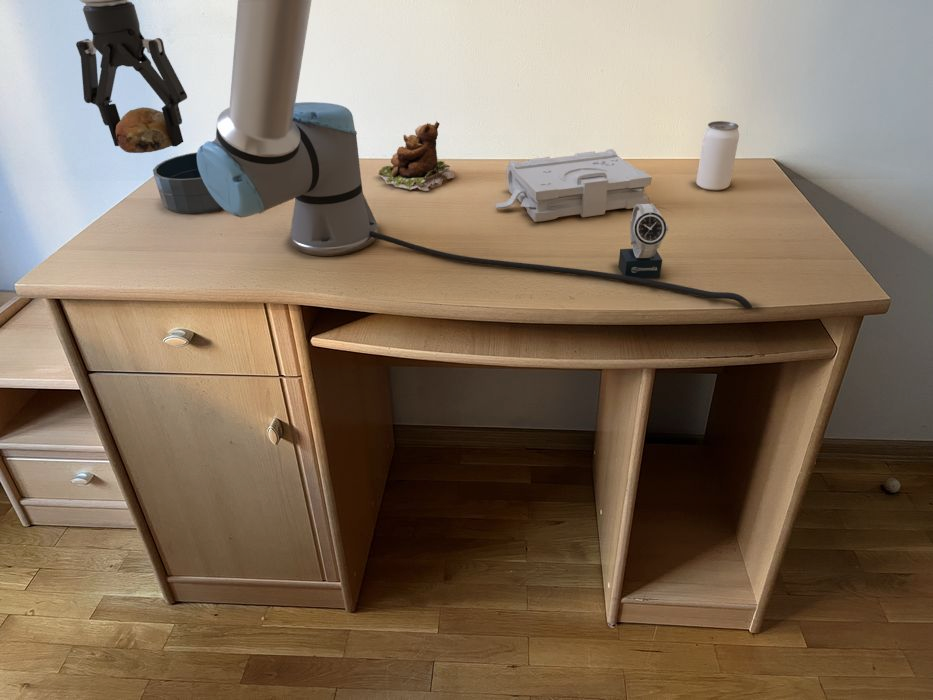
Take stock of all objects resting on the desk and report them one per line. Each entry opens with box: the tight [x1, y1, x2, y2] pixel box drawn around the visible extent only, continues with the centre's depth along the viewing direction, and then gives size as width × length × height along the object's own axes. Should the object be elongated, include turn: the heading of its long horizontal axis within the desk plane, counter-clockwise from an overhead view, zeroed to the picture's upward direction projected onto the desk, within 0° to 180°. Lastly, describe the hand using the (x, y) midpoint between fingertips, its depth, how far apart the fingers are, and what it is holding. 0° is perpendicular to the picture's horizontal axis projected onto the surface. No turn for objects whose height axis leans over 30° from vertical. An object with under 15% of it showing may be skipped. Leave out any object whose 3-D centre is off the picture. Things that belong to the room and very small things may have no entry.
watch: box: [617, 203, 670, 279], centre depth 103 cm, size 6×8×11 cm
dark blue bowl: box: [152, 151, 224, 215], centre depth 137 cm, size 17×17×7 cm
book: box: [493, 148, 652, 223], centre depth 129 cm, size 19×28×8 cm
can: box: [695, 120, 740, 192], centre depth 133 cm, size 6×6×12 cm
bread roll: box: [115, 106, 173, 154], centre depth 118 cm, size 10×10×8 cm
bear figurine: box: [378, 120, 455, 192], centre depth 141 cm, size 14×15×12 cm
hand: (149, 143), depth 118 cm, fingers closed on bread roll, 10 cm apart
